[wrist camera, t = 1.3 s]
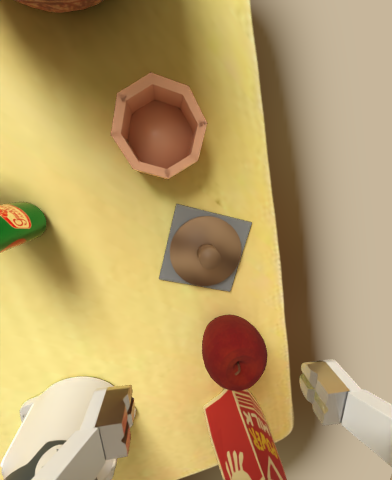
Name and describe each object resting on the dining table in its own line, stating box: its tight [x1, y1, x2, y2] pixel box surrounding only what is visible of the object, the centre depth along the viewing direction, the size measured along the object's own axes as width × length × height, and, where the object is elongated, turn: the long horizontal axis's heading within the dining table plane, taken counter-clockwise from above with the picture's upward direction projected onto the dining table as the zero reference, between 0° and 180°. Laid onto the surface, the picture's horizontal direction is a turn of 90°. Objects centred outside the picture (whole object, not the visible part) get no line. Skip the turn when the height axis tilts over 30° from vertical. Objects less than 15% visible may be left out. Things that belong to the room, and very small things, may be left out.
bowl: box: [111, 72, 207, 179], centre depth 26 cm, size 10×10×5 cm
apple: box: [202, 315, 267, 391], centre depth 33 cm, size 10×10×10 cm
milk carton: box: [203, 389, 287, 480], centre depth 33 cm, size 9×9×20 cm
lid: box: [170, 216, 241, 286], centre depth 31 cm, size 11×11×4 cm
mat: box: [159, 204, 252, 291], centre depth 33 cm, size 12×12×1 cm
